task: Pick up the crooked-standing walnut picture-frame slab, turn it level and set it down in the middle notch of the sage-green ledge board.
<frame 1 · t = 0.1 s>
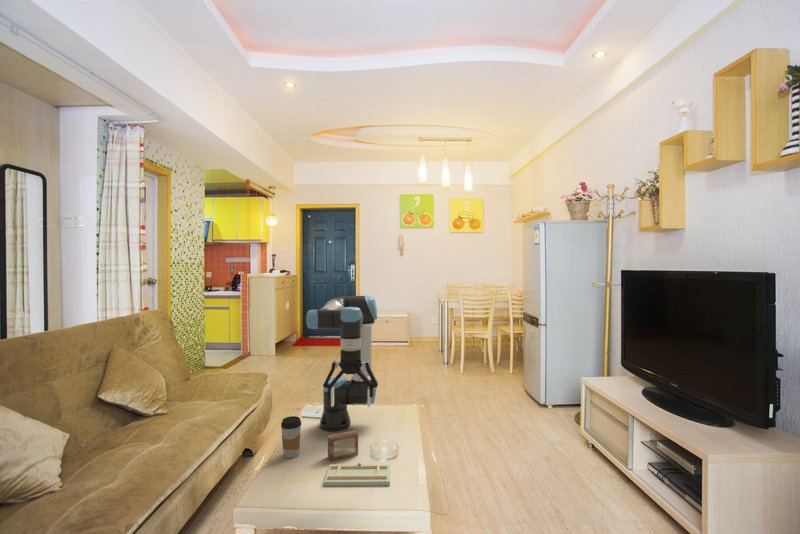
hand: (350, 405, 145), 28 cm above the table, fingers open, 13 cm apart
ledge board: (358, 476, 148), on the table
coffee cup: (291, 455, 164), on the table
walnut frame: (343, 456, 164), on the table
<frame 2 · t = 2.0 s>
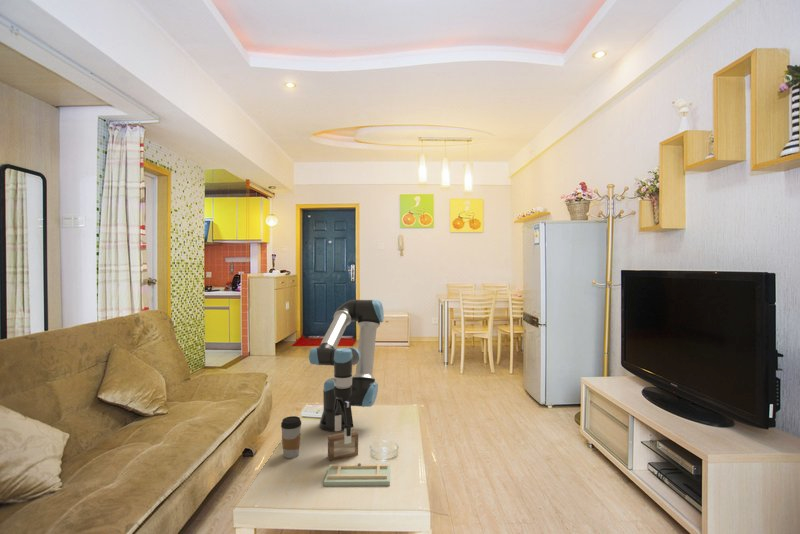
hand: (342, 436, 163), 8 cm above the table, fingers open, 13 cm apart
nothing on the table moved.
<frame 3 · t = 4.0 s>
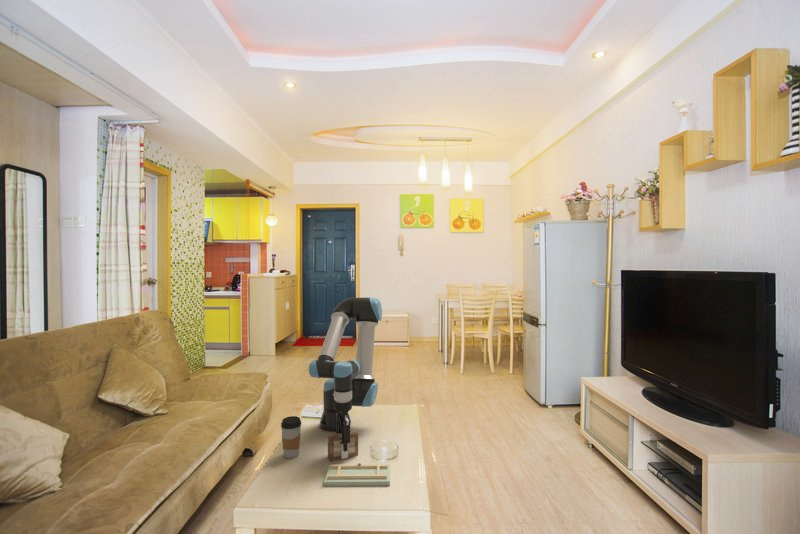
hand: (342, 455, 163), 0 cm above the table, fingers closed on walnut frame, 4 cm apart
walnut frame: (343, 455, 163), on the table, touching gripper
everything else where it was.
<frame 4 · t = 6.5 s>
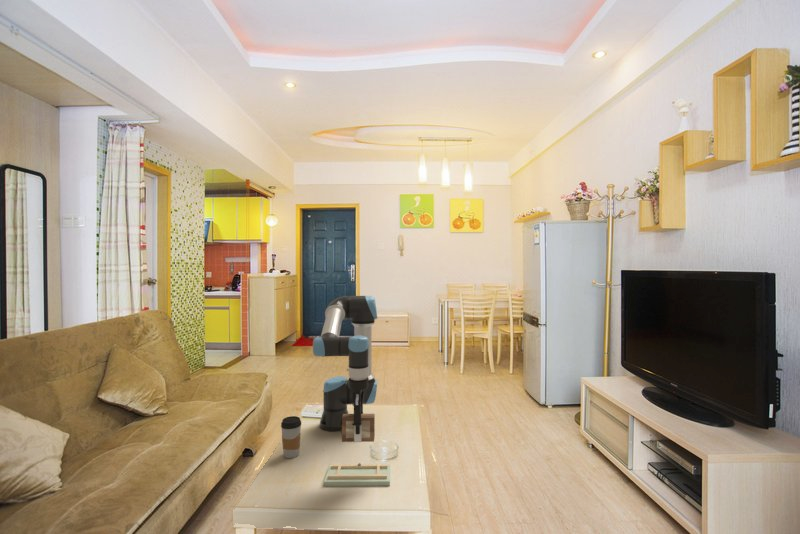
hand: (358, 438, 148), 14 cm above the table, fingers closed on walnut frame, 4 cm apart
walnut frame: (358, 439, 148), point 14 cm above the table, touching gripper
everything else where it was.
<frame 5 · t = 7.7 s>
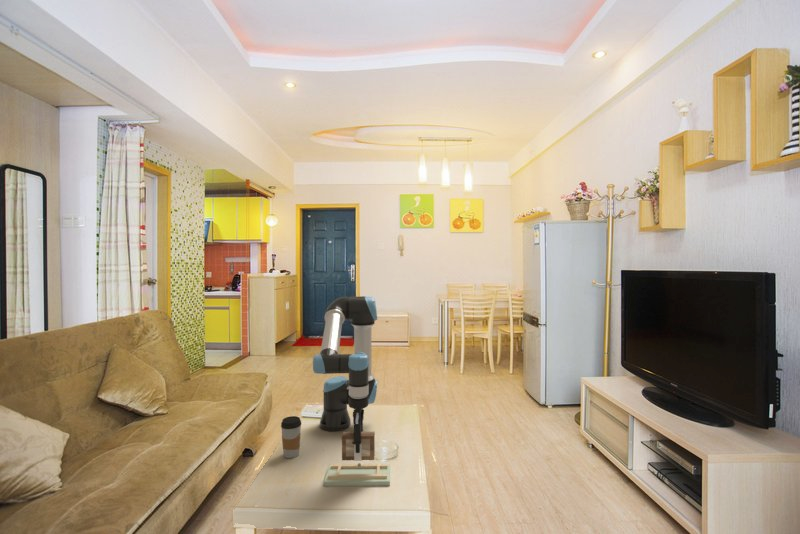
hand: (358, 456, 147), 8 cm above the table, fingers closed on walnut frame, 4 cm apart
walnut frame: (358, 457, 147), point 7 cm above the table, touching gripper
everything else where it was.
when the fingers open (4 cm above the table, at t = 9.0 s): walnut frame drops 2 cm, resting on ledge board.
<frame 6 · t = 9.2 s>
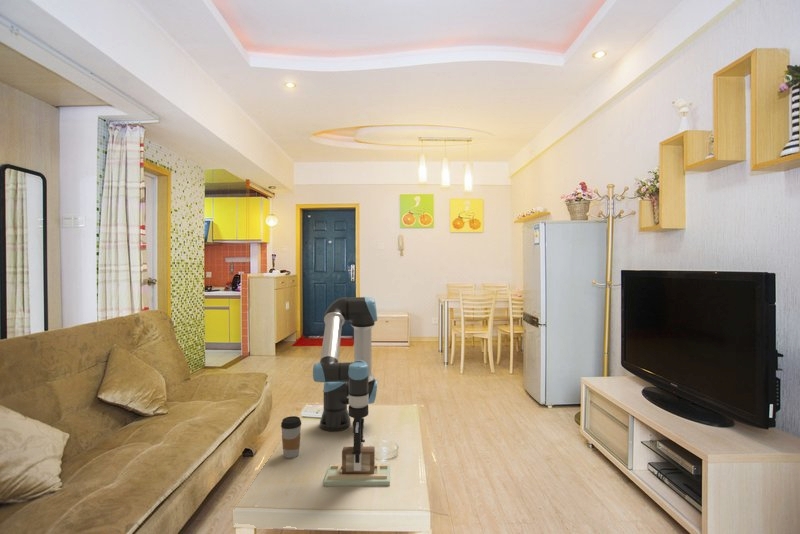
hand: (358, 464, 148), 4 cm above the table, fingers open, 7 cm apart
walnut frame: (358, 472, 148), point 1 cm above the table, touching ledge board
everything else where it was.
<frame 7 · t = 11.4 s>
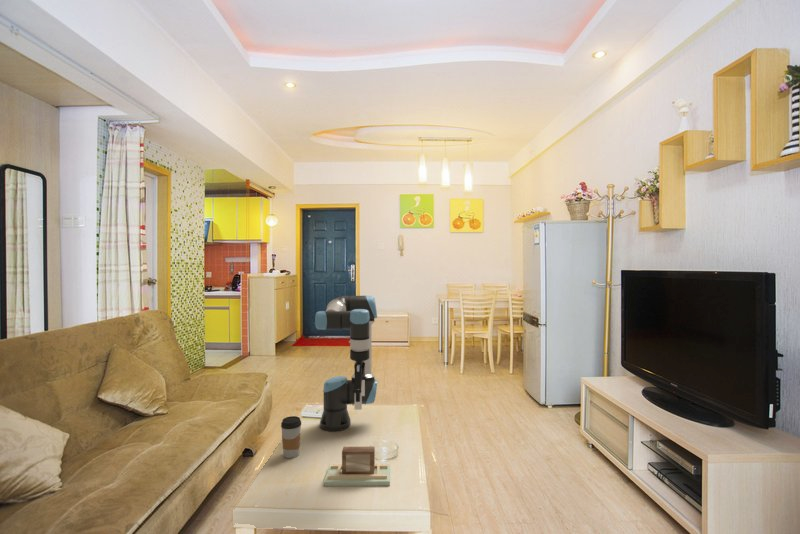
hand: (359, 402, 153), 26 cm above the table, fingers open, 13 cm apart
nothing on the table moved.
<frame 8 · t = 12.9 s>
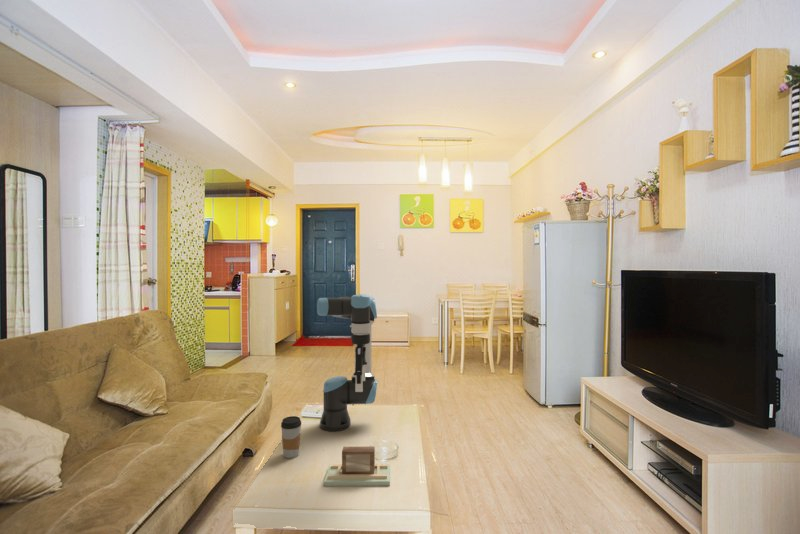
hand: (360, 386, 156), 32 cm above the table, fingers open, 13 cm apart
nothing on the table moved.
at the end: walnut frame 0.1 cm off-centre on the ledge board, point 1.5 cm above the ledge board's base; walnut frame tilted 0°; the gripper is holding nothing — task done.
